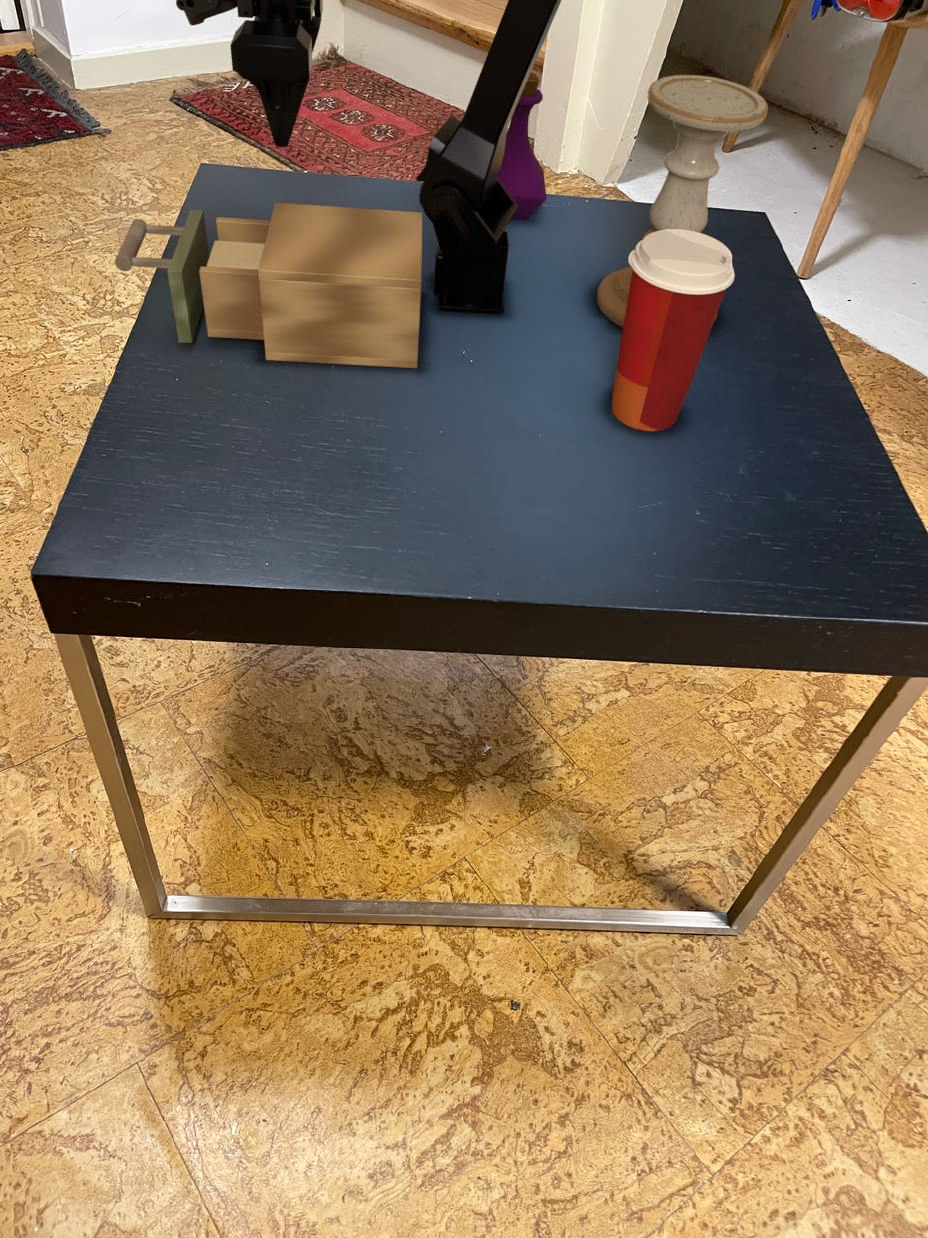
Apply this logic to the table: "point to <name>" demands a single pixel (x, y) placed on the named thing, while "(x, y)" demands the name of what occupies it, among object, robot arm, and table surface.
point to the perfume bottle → (523, 156)
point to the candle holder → (687, 160)
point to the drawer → (204, 276)
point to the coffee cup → (667, 323)
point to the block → (236, 255)
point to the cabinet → (342, 285)
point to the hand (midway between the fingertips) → (286, 125)
